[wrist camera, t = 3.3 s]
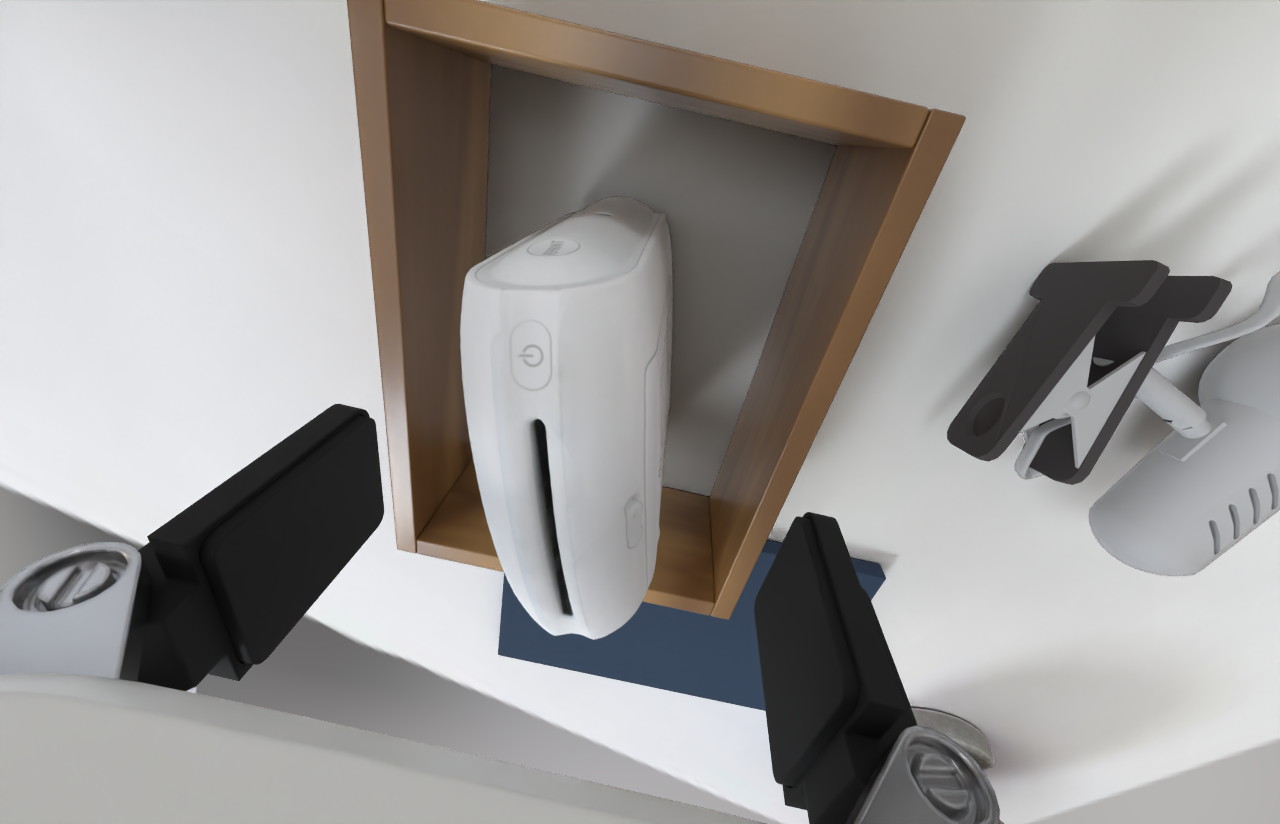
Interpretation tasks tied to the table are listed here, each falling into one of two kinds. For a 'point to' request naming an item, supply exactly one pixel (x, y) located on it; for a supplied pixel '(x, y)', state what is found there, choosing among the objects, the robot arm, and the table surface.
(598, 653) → the mat
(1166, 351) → the clip-on lamp
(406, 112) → the wooden box
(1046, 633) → the table surface
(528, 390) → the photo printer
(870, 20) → the table surface
